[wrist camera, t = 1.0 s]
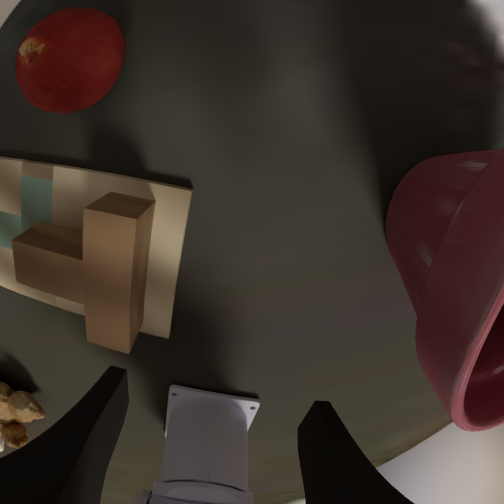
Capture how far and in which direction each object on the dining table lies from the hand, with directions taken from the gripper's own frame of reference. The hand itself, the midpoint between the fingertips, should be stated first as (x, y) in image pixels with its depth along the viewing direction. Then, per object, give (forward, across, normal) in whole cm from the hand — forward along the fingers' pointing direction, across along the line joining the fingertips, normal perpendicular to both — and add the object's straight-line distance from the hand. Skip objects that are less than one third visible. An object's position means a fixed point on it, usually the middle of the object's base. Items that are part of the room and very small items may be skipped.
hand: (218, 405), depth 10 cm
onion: (+11, +11, -12) cm, 19 cm away
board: (+10, +13, 0) cm, 16 cm away
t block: (+10, +10, 0) cm, 14 cm away
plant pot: (+11, -13, -7) cm, 19 cm away
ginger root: (+10, +26, +25) cm, 38 cm away
